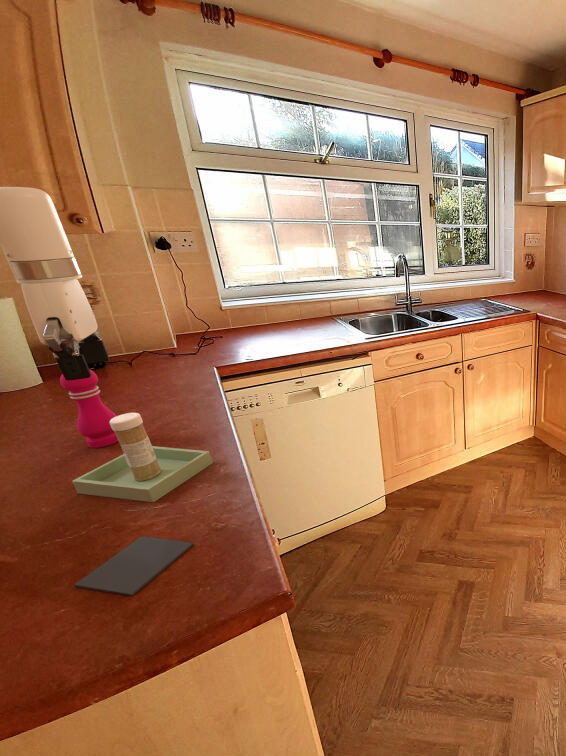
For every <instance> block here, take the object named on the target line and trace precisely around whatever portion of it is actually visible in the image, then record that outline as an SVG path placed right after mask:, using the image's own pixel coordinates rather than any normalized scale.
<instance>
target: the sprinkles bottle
mask: <svg viewBox="0 0 566 756" xmlns="http://www.w3.org/2000/svg"><path fill="white" fill-rule="evenodd" d="M143 422H144V421H143V418H142V415H141V414H140V413H138V412H127V413H124V414H120V415H119V414H118V415H116V417H114V418H112V419H111V420H110V425H111V428H112V430H114V432H115V433H116V435H117V438H118V443H119V445H120V448H121V450H122V453H123V454H124V456H125V458H126V461H127V463H128V465H129V467H130V469H131V471H132V474H133V476H134V477H133V478H134V480H136V481H144V480H148V479H151V478H154V477H156V476H157V475H159V474H160V473H161V471H162V470H161V468H160V467H159V464H158V462H157V459H156V455H155V453H154V450H153V448H152V446H153V445H152V443H151V440H150V438H149V435H148V434H147V431H146V429H145V426H144V423H143Z"/></svg>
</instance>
